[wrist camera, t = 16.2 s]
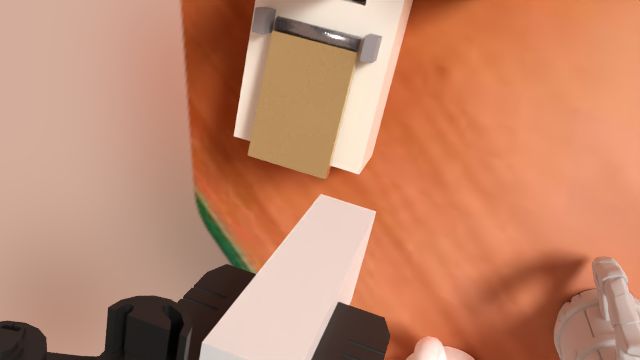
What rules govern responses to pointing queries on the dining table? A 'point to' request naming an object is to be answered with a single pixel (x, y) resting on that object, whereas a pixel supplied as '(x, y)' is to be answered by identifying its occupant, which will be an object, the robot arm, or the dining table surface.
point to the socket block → (370, 73)
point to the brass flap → (303, 96)
